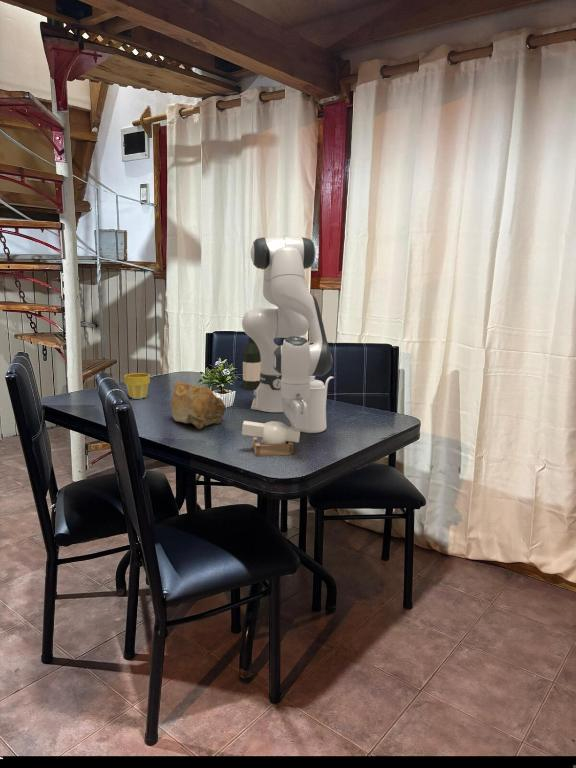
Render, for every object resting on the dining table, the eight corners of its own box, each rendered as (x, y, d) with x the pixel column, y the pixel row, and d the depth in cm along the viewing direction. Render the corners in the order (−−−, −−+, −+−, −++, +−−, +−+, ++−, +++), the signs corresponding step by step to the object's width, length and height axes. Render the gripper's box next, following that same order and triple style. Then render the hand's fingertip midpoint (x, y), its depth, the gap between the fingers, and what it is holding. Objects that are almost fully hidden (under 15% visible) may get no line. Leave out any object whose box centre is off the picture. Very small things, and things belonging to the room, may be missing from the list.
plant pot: (129, 395, 245) (128, 372, 243) (153, 395, 245) (152, 373, 243) (121, 400, 235) (120, 377, 233) (146, 401, 234) (145, 377, 232)
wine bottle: (264, 388, 263) (265, 322, 257) (254, 391, 256) (254, 324, 250) (249, 385, 268) (250, 321, 261) (239, 388, 261) (239, 322, 254)
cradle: (252, 446, 178) (252, 437, 178) (288, 445, 180) (288, 436, 180) (256, 456, 170) (256, 446, 169) (293, 454, 172) (293, 444, 171)
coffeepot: (344, 424, 205) (346, 373, 201) (301, 440, 186) (302, 383, 182) (320, 419, 212) (321, 369, 208) (276, 433, 193) (276, 378, 189)
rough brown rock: (238, 430, 199) (240, 387, 197) (193, 433, 189) (195, 388, 187) (208, 417, 218) (210, 378, 216) (167, 419, 208) (168, 378, 206)
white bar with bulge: (243, 437, 180) (245, 417, 177) (298, 444, 179) (301, 424, 177) (239, 448, 173) (241, 428, 170) (296, 456, 172) (299, 436, 170)
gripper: (313, 398, 164) (312, 444, 167) (298, 383, 184) (297, 425, 187) (292, 399, 163) (291, 445, 166) (278, 384, 183) (278, 426, 186)
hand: (294, 434), depth 177 cm, fingers closed
